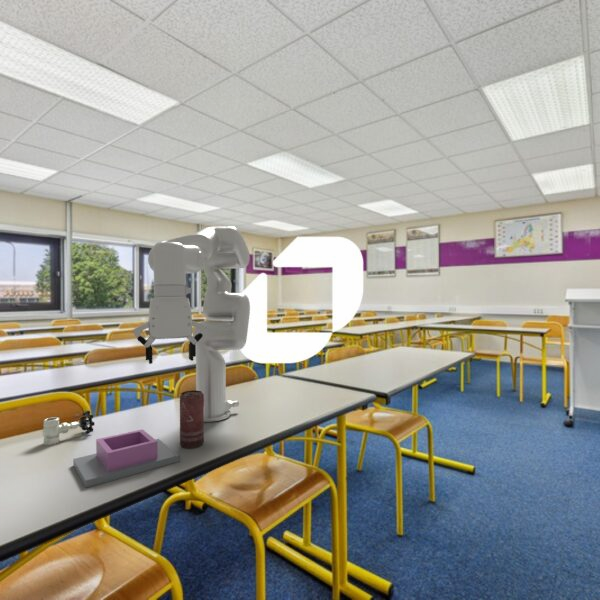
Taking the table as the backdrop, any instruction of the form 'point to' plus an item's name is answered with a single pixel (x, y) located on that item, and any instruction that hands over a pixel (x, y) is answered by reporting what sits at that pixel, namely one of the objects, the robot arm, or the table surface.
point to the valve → (64, 427)
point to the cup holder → (123, 457)
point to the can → (191, 419)
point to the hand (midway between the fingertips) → (171, 361)
